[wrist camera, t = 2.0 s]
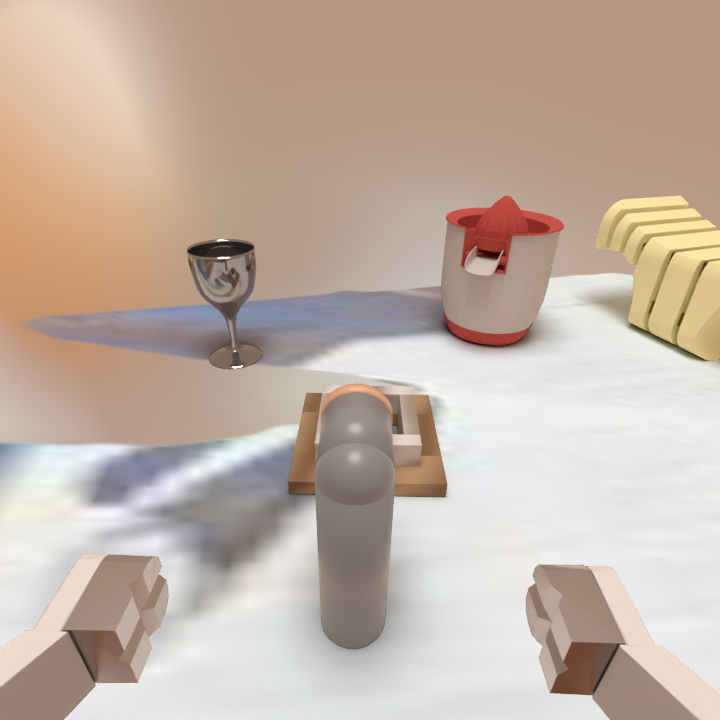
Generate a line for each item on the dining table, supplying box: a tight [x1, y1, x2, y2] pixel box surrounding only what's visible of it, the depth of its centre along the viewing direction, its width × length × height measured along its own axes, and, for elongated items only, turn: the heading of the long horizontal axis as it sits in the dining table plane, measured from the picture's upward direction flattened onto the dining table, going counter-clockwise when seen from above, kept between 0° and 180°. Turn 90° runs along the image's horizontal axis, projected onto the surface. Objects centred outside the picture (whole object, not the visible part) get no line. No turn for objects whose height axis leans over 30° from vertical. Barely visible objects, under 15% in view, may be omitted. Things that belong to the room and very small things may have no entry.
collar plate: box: [288, 385, 447, 497], centre depth 46 cm, size 14×14×4 cm
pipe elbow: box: [315, 384, 395, 649], centre depth 29 cm, size 8×5×15 cm, turn 179°
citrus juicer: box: [441, 196, 564, 346], centre depth 66 cm, size 16×17×20 cm
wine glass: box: [187, 239, 262, 369], centre depth 59 cm, size 8×8×15 cm
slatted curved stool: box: [595, 196, 720, 361], centre depth 66 cm, size 30×16×18 cm, turn 20°
